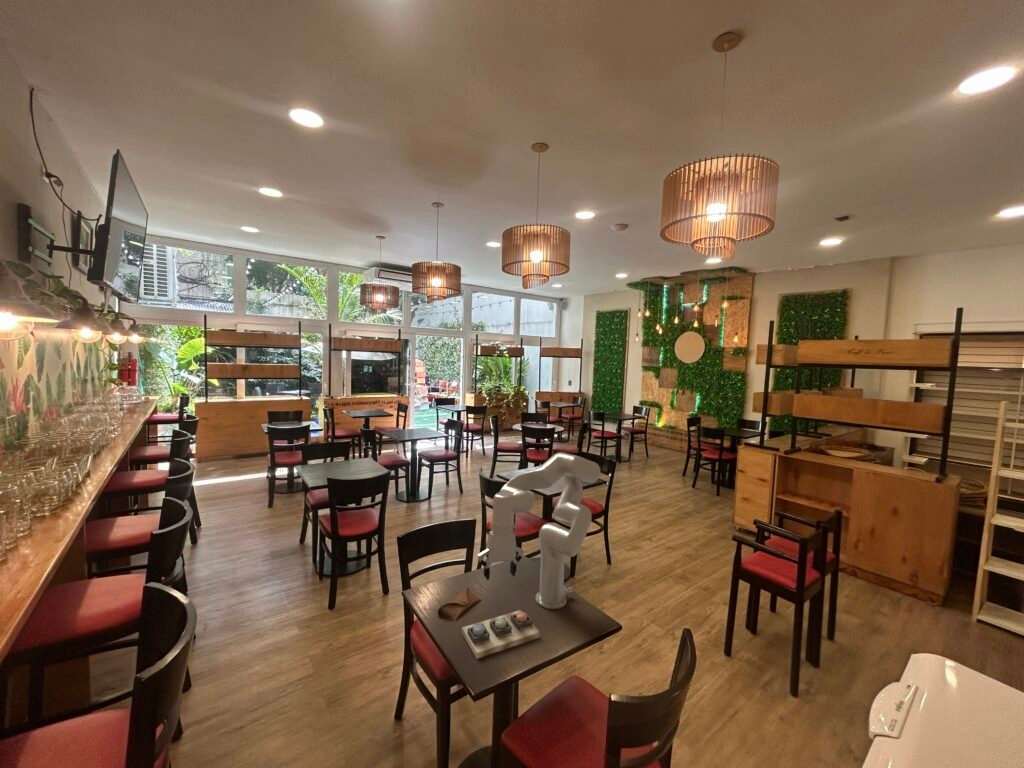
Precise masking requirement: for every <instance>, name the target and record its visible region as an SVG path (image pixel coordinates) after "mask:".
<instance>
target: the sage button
mask: <svg viewBox="0 0 1024 768" xmlns="http://www.w3.org/2000/svg"><path fill="white" fill-rule="evenodd" d="M495 627H496V628H497V630H500V629H503V628H506V620H505V619H502V618H499V619H497V620H496V621H495Z"/></svg>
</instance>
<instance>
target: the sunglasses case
mask: <svg viewBox="0 0 1024 768" xmlns="http://www.w3.org/2000/svg"><path fill="white" fill-rule="evenodd" d="M480 601H481V602H482V599H481V598H479V597H478V596H477V595H476V594H475V593H474V592H473V591H472V590H470V589H469V587H468V586H467V587H466V588H465V589H463V590H462V591H460V592H459V593H457V594H455V596H453V597H452V598H450V599H449V600H448V601H447V602H446V603H444V604H443V605H442V606H440V607H439V608H438V609H437V610H438V611H437V614H438V617H441V618H444V619H446V620H448V621H451V622H454V623H456V622H457V621H458V620H459V619H460V618H461V617H462V616H463V615H464V614H465V613H466V612H467V611H469V610H470V609H471V608H473V606H475V605H476V604H479V603H480Z"/></svg>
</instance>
